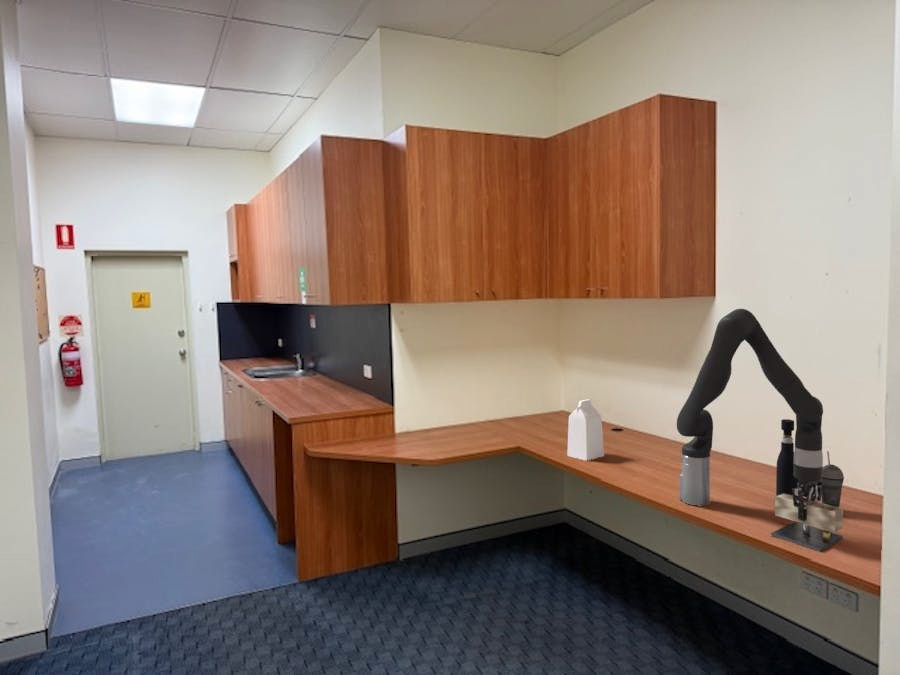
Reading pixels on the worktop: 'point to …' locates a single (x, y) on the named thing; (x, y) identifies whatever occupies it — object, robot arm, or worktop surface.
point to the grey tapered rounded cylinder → (831, 484)
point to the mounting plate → (807, 536)
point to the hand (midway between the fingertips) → (807, 517)
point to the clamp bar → (810, 513)
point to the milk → (585, 432)
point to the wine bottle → (786, 461)
